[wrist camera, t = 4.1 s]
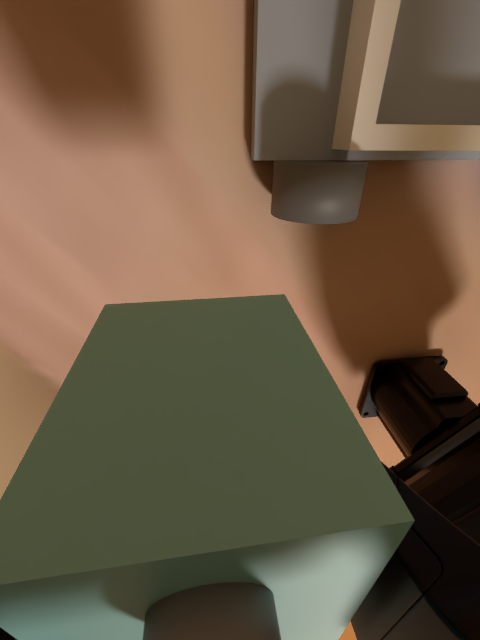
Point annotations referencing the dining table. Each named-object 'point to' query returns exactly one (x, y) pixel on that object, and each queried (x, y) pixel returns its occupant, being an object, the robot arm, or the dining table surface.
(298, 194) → the chassis
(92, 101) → the dining table surface
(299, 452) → the green cube with knobs
